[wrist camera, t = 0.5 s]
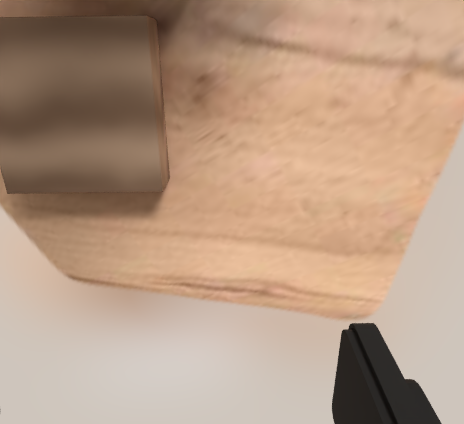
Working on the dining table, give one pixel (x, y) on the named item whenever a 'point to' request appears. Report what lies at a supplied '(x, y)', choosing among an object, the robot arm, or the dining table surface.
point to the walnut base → (81, 105)
